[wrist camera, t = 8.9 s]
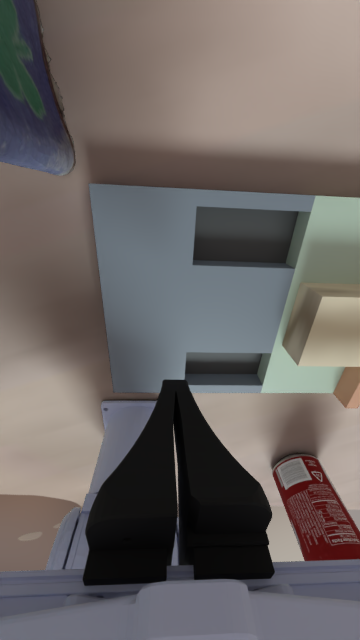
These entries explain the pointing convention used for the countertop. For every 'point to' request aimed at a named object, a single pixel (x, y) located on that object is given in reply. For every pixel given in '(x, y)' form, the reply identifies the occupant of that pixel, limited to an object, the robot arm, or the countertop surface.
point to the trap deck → (218, 285)
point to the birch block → (325, 325)
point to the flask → (30, 95)
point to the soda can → (316, 510)
